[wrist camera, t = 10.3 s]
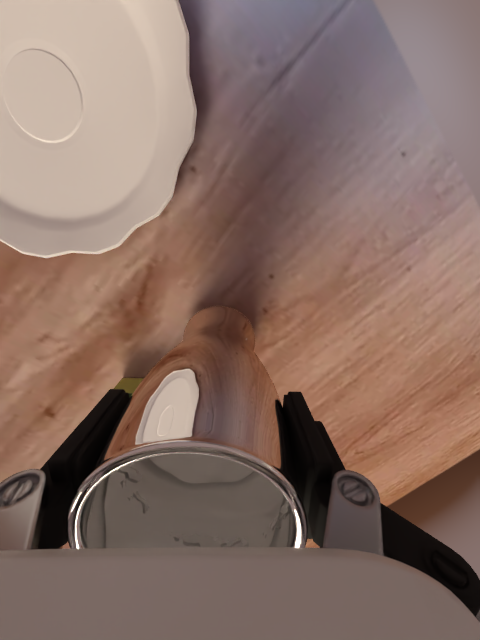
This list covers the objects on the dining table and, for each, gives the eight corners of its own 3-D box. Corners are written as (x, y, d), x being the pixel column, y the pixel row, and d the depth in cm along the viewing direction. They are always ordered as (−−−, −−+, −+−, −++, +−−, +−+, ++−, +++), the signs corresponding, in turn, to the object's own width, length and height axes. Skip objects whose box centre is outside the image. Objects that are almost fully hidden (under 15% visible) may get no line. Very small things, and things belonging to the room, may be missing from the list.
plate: (254, 148, 18) (256, 139, 16) (51, 304, 21) (36, 309, 19) (36, -237, 13) (8, -307, 11) (-196, 42, 16) (-245, 19, 14)
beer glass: (219, 389, 22) (195, 645, 8) (161, 338, 21) (3, 544, 6) (276, 339, 21) (367, 538, 7) (219, 282, 20) (179, 381, 5)
